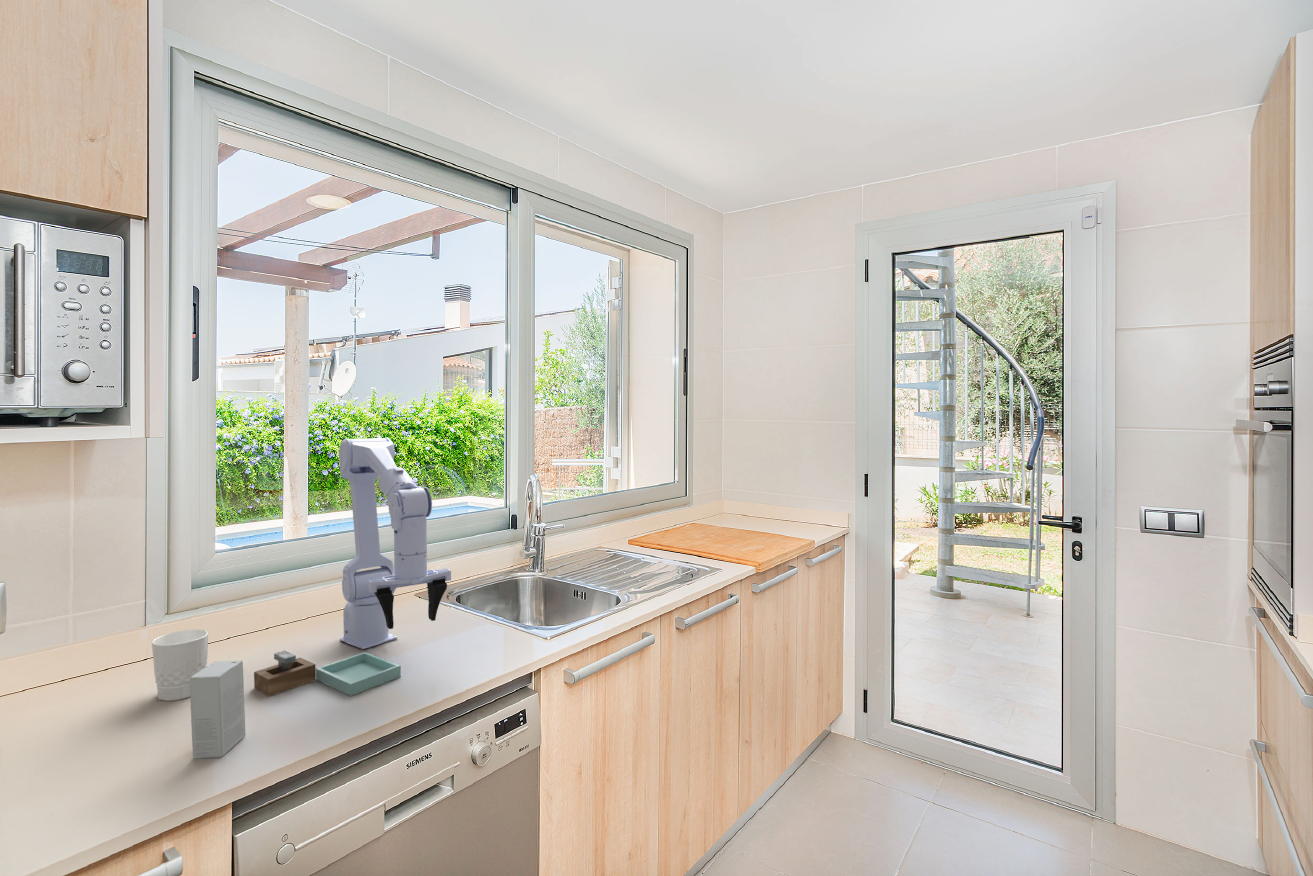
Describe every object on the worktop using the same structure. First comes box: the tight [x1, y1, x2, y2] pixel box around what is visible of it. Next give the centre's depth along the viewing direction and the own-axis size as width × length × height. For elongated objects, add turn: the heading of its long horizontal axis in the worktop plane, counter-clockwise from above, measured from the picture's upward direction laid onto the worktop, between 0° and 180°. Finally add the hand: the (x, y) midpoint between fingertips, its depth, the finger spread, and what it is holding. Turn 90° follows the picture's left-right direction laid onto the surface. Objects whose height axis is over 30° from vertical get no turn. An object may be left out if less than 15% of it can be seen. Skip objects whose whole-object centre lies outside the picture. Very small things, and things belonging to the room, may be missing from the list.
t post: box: [273, 650, 297, 673], centre depth 113 cm, size 4×2×6 cm, turn 56°
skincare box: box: [189, 660, 247, 759], centre depth 91 cm, size 6×4×12 cm
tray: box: [315, 651, 402, 697], centre depth 116 cm, size 12×10×2 cm
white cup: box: [151, 628, 209, 702], centre depth 109 cm, size 8×8×10 cm
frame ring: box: [253, 657, 317, 697], centre depth 113 cm, size 6×8×3 cm
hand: (411, 623), depth 117 cm, fingers open, 7 cm apart
